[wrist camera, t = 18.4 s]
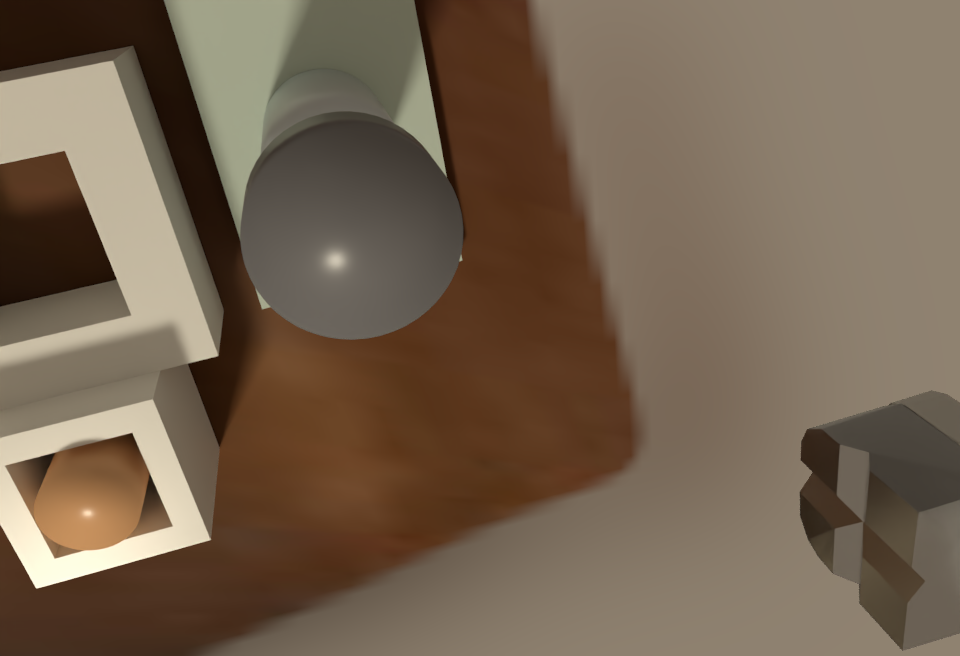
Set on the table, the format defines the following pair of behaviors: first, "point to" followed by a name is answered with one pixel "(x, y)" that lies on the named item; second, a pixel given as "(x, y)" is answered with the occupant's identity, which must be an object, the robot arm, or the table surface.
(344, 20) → the mat
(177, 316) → the housing
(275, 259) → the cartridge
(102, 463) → the release button
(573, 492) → the table surface
